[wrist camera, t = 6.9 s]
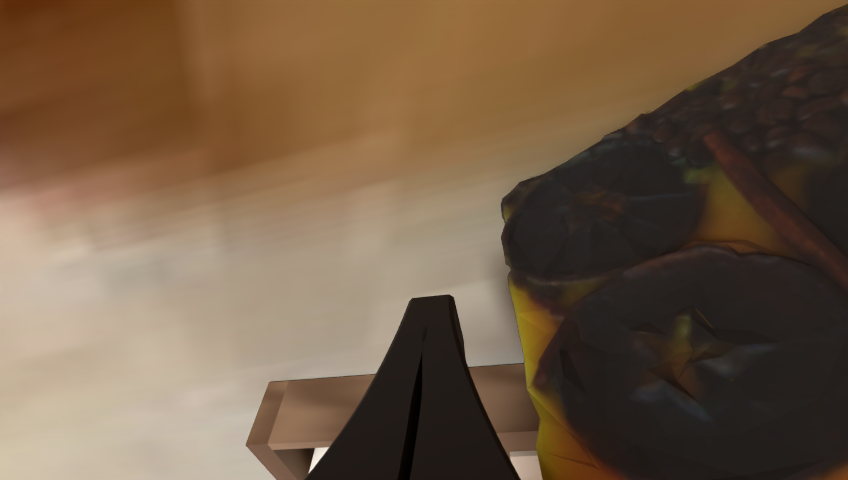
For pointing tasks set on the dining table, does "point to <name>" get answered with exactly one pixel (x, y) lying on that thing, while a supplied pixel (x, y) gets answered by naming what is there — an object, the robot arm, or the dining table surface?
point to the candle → (696, 280)
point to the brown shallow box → (339, 397)
